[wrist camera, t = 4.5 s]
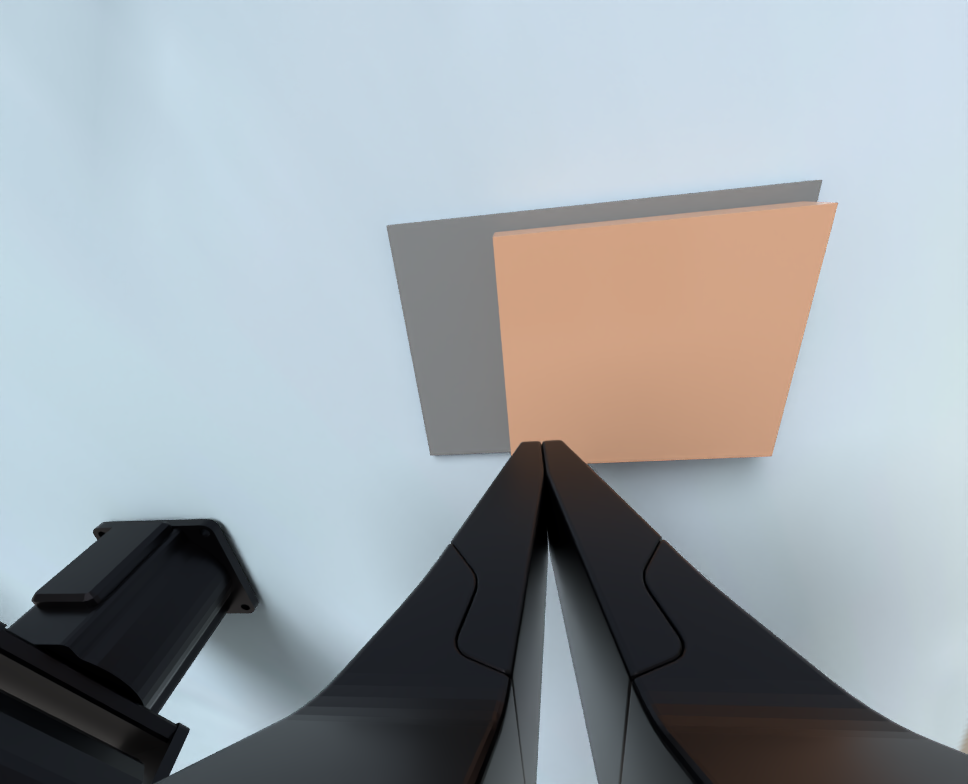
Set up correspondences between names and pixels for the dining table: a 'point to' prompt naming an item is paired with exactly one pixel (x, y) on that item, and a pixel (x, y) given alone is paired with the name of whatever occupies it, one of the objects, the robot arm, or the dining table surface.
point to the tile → (658, 330)
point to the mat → (474, 303)
